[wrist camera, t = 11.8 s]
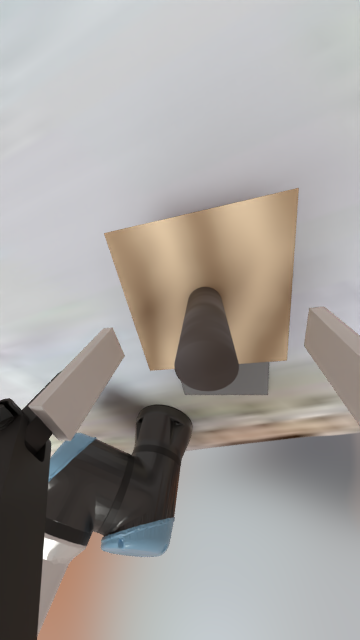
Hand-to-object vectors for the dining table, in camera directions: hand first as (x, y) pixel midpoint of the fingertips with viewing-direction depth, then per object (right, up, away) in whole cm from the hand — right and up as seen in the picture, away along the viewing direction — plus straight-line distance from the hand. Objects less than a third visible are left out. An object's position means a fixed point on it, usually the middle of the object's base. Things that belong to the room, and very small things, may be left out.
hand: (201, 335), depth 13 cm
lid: (+1, +3, +5) cm, 6 cm away
